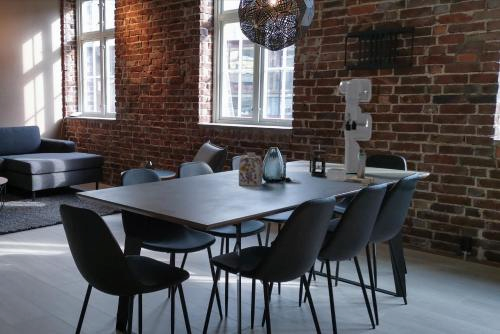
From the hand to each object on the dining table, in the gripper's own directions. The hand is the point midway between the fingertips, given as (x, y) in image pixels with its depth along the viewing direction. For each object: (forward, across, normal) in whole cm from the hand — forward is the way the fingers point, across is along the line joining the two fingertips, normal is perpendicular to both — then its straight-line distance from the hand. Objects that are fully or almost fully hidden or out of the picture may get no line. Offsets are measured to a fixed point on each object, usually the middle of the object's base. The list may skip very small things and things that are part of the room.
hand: (351, 130), depth 313 cm
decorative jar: (+29, +58, -37) cm, 75 cm away
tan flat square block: (+30, +15, +13) cm, 36 cm away
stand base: (+30, +15, -2) cm, 33 cm away
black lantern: (+30, +9, -17) cm, 36 cm away
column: (+27, +15, +13) cm, 33 cm away
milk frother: (+30, +34, -30) cm, 54 cm away
